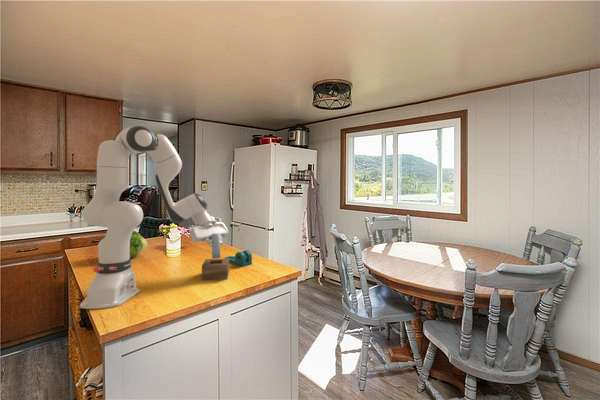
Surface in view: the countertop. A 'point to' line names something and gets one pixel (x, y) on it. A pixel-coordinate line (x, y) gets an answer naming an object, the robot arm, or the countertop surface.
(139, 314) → the countertop surface
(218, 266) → the brown toaster
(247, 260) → the teal elongated piece
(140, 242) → the lettuce
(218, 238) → the blue dowel
